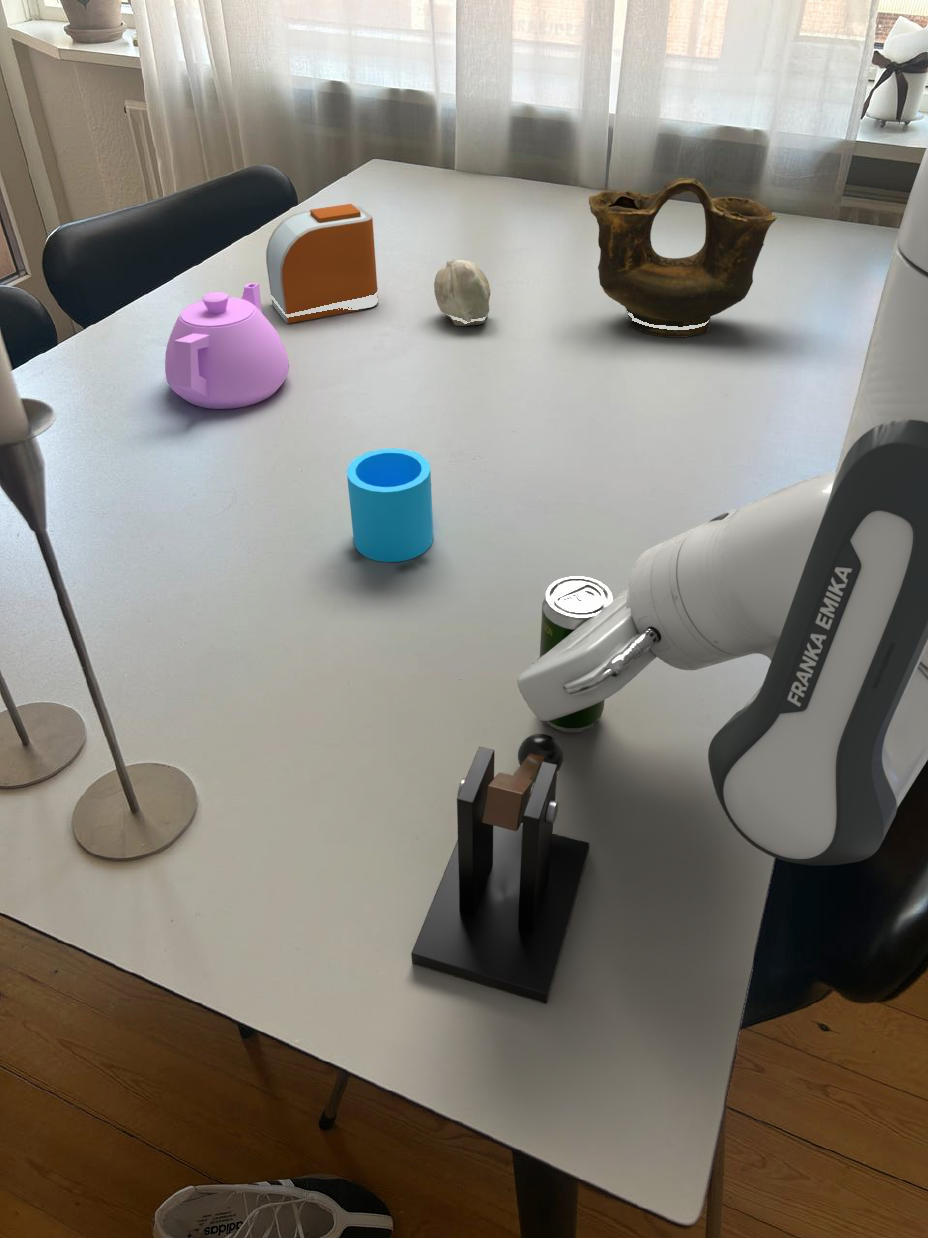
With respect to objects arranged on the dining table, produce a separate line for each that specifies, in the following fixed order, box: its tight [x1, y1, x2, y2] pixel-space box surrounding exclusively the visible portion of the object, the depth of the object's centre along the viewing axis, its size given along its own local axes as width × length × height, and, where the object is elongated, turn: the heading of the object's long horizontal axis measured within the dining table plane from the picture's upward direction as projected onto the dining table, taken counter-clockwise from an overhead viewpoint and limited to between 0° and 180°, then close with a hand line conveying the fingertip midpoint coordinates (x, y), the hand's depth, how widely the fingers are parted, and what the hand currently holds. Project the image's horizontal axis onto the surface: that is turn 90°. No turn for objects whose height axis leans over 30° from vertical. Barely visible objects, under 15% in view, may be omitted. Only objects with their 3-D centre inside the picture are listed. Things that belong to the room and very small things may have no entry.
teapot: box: [164, 282, 290, 410], centre depth 122 cm, size 22×16×12 cm
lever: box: [482, 732, 564, 831], centre depth 63 cm, size 13×3×3 cm
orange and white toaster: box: [265, 203, 378, 325], centre depth 142 cm, size 15×8×14 cm, turn 115°
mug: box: [346, 447, 434, 563], centre depth 98 cm, size 12×8×8 cm
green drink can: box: [539, 575, 614, 733], centre depth 75 cm, size 5×5×12 cm
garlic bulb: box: [433, 258, 491, 327], centre depth 138 cm, size 9×8×10 cm
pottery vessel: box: [588, 177, 778, 338], centre depth 133 cm, size 25×11×20 cm, turn 80°
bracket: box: [410, 746, 591, 1005], centre depth 61 cm, size 12×9×13 cm
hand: (568, 647), depth 75 cm, fingers closed on green drink can, 5 cm apart
